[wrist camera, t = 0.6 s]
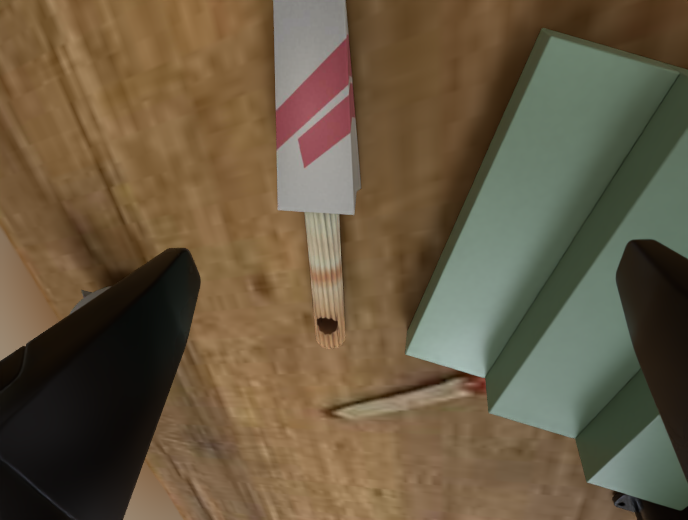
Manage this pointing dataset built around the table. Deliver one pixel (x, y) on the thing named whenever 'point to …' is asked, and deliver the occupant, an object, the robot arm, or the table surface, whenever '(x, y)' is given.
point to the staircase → (568, 257)
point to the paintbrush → (317, 142)
